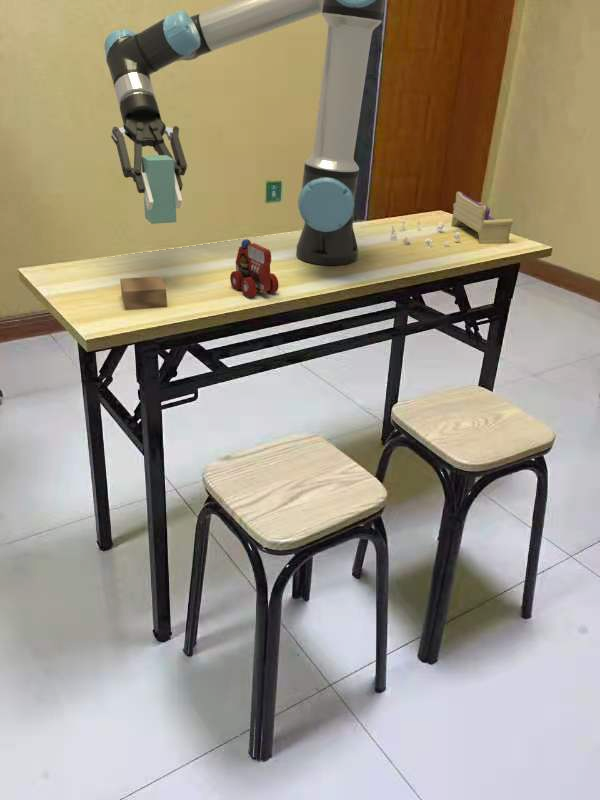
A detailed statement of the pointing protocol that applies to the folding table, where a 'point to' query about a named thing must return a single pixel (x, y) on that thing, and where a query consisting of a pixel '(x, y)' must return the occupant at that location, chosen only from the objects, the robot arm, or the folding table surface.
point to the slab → (143, 293)
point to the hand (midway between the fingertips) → (165, 204)
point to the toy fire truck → (253, 270)
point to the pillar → (160, 188)
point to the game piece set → (428, 240)
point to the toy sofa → (480, 220)
